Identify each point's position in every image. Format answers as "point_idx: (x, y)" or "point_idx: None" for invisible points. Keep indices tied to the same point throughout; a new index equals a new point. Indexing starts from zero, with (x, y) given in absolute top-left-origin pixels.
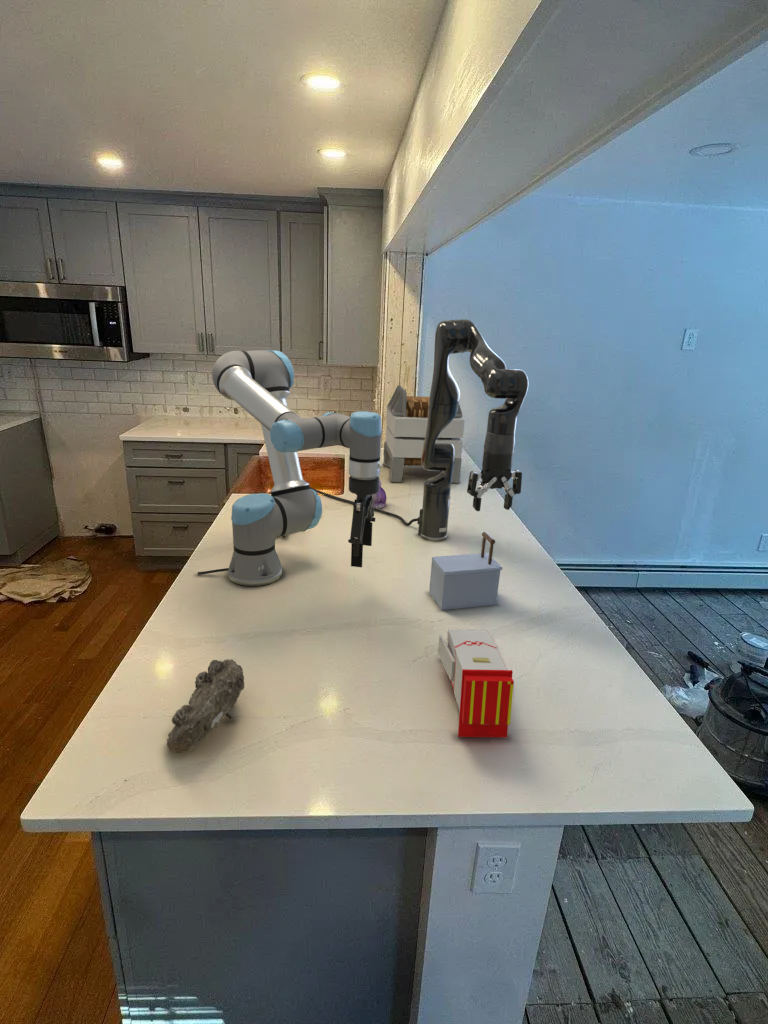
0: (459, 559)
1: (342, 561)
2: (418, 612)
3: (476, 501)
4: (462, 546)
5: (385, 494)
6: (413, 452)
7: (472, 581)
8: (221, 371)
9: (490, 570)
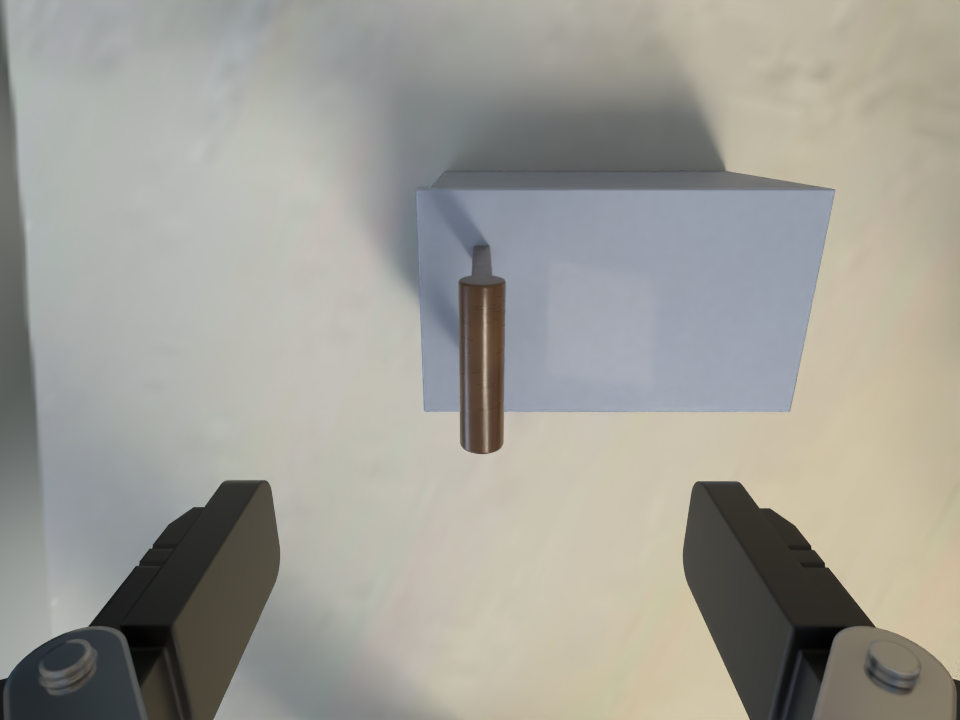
0: (643, 350)
1: (915, 640)
2: (838, 173)
3: (832, 595)
4: (371, 684)
5: None
6: None
7: (610, 181)
8: None
9: (502, 188)
